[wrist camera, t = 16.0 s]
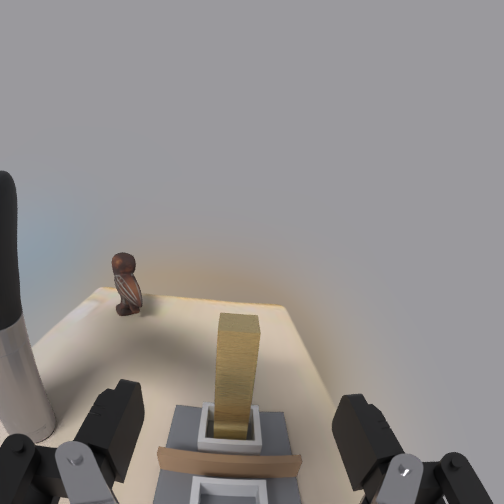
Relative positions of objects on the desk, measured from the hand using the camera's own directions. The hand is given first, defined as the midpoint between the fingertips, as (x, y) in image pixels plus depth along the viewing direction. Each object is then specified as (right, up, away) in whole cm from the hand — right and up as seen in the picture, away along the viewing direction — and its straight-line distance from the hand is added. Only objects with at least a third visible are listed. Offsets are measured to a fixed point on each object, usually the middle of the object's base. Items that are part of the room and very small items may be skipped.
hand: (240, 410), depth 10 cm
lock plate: (-2, -21, +16) cm, 26 cm away
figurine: (-30, -9, +56) cm, 64 cm away
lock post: (-3, -18, +22) cm, 29 cm away
